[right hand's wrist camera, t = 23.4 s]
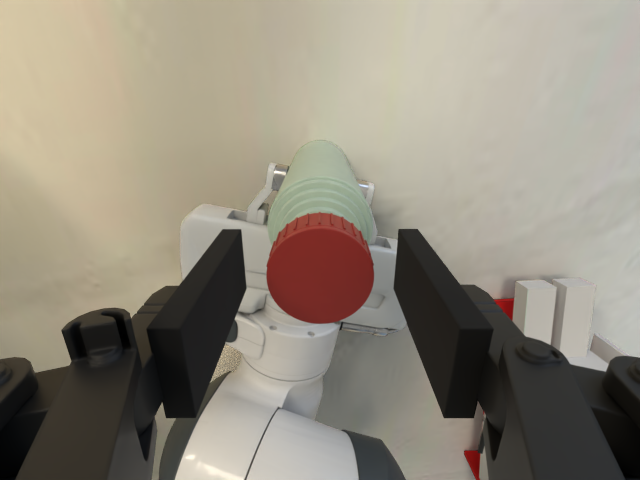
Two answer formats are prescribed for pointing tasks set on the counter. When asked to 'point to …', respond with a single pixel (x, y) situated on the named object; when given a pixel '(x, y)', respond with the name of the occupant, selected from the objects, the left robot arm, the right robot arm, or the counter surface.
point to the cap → (320, 269)
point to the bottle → (320, 190)
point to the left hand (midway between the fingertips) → (321, 173)
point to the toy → (554, 330)
